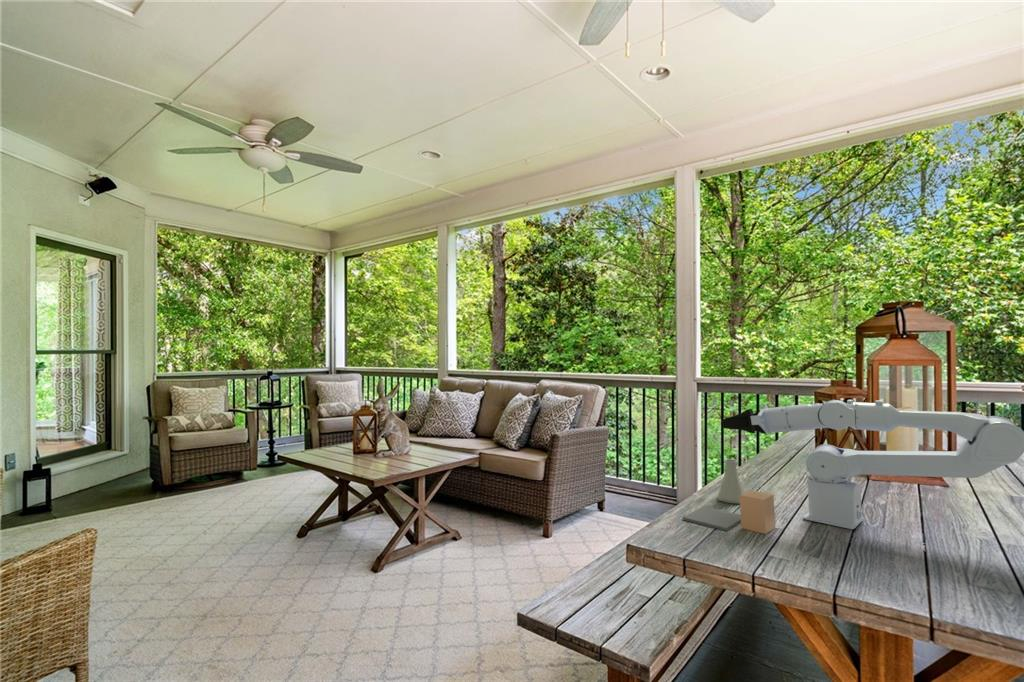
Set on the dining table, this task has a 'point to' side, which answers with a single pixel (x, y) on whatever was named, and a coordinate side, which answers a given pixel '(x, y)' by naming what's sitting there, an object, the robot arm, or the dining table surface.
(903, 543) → the dining table surface
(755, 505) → the light orange block
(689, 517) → the mat
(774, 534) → the dining table surface
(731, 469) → the flask
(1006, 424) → the robot arm
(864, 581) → the dining table surface
